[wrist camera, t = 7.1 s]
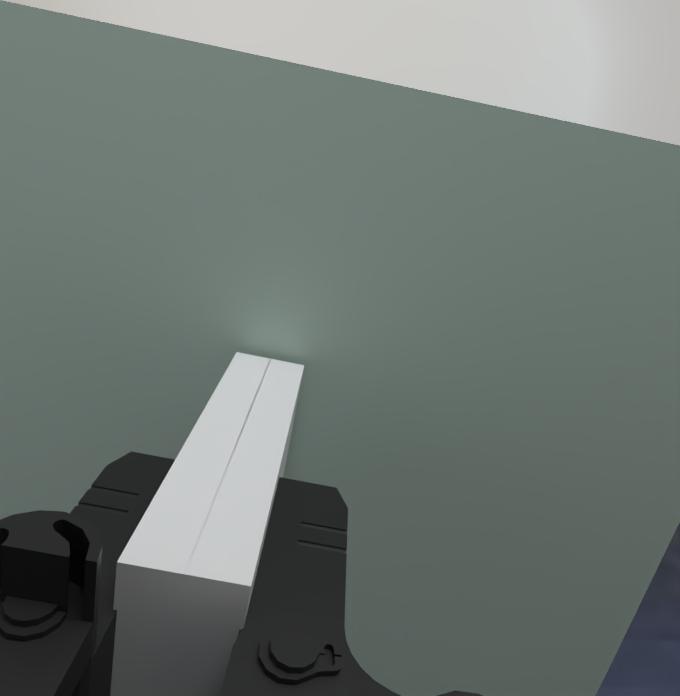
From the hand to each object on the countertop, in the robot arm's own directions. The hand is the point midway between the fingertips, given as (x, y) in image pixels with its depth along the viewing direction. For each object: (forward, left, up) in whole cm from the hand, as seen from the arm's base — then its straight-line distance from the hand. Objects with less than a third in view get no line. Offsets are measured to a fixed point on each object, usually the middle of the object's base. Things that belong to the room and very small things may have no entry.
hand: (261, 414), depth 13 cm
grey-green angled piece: (+2, -7, -9) cm, 11 cm away
